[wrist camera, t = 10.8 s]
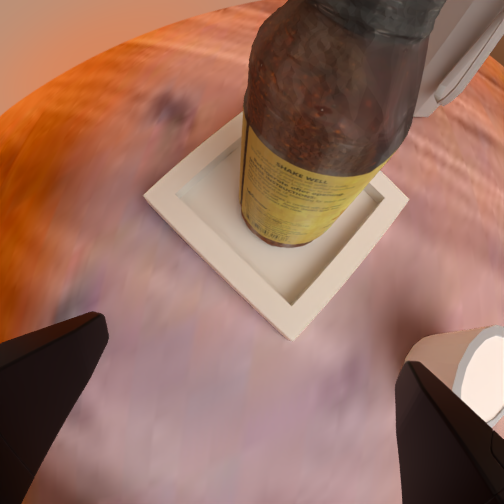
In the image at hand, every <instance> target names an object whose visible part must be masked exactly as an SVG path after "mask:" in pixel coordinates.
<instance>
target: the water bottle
mask: <svg viewBox="0 0 504 504" xmlns="http://www.w3.org/2000/svg"><path fill="white" fill-rule="evenodd" d="M503 34H504V0H447V1H446V2H445V4H444V6H443V7H442V9H441V11H440V13H439V15H438V16H437V18H436V19H435V24H434V29H433V31H432V32H431V33H430V37H429V43H428V49H427V55H426V61H425V66H424V71H423V76H422V81H421V85H420V90H419V94H418V99H417V103H416V107H415V111H414V115H413V117H428V116H429V115H430V114H431V113H432V112H434V111H435V110H436V109H437V107H438V106H439V105H442V106H445V105H447V104H448V103H450V102H451V101H453V100H454V99H455V98H456V97H457V96H458V95H459V94H460V93H461V92H462V91H463V90H464V88H465V87H466V86H467V84H468V83H469V82H470V80H471V79H472V78H473V76H474V75H475V74H476V72H477V71H478V70H479V68H480V67H481V65H482V64H483V63H484V61H485V60H486V58H487V57H488V56H489V54H490V53H491V51H492V50H493V48H494V47H495V46H496V44H497V43H498V41H499V40H500V38H501V37H502V35H503Z"/></svg>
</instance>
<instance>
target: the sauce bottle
mask: <svg viewBox="0 0 504 504" xmlns="http://www.w3.org/2000/svg"><path fill="white" fill-rule="evenodd" d="M446 1H447V0H288V1H287V2H286V3H285V4H284V5H283V6H282V7H280V8H278V9H277V11H276V12H274V13H273V14H272V15H271V16H270V17H269V18H268V19H266V20H265V21H264V23H263V24H262V25H261V27H260V28H259V31H258V33H257V36H256V38H255V40H254V42H253V45H252V50H251V54H250V59H249V72H248V74H249V76H248V87H247V90H246V93H245V96H244V103H243V121H242V137H241V158H240V181H239V204H240V205H241V214H242V217H243V219H244V221H245V223H246V225H247V226H248V228H249V229H250V230H251V231H252V233H253V234H255V235H256V236H257V237H259V238H260V239H261V240H262V241H264V242H266V243H267V244H269V245H271V246H277V247H284V248H295V247H301V246H305V245H306V244H308V243H311V242H312V241H313V240H314V239H316V238H318V237H320V236H321V235H322V234H324V233H325V232H326V231H327V230H328V229H329V228H330V227H331V226H332V224H333V223H334V222H335V221H336V220H337V219H338V218H339V217H340V215H341V214H342V213H343V212H344V211H345V210H346V209H347V207H348V206H349V205H350V204H351V203H352V202H353V201H354V200H355V198H356V197H357V196H358V195H359V194H360V193H361V192H362V191H363V190H364V188H365V187H366V186H367V185H368V184H369V182H370V181H371V180H372V179H373V178H374V177H375V175H376V174H377V173H378V172H379V171H380V169H381V168H382V167H383V166H384V165H385V164H386V163H387V162H388V161H389V159H390V158H391V156H392V155H393V154H394V153H395V152H396V150H397V149H398V148H399V147H400V145H401V144H402V142H403V141H404V139H405V137H406V136H407V134H408V131H409V129H410V126H411V124H412V119H413V115H414V111H415V107H416V103H417V99H418V94H419V90H420V85H421V81H422V76H423V71H424V66H425V61H426V55H427V49H428V43H429V37H430V33H431V32H432V31H433V29H434V24H435V19H436V18H437V16H438V15H439V13H440V11H441V9H442V7H443V6H444V4H445V2H446Z"/></svg>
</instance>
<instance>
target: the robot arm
mask: <svg viewBox="0 0 504 504" xmlns="http://www.w3.org/2000/svg"><path fill="white" fill-rule="evenodd" d="M108 339H109V334H108V329H107V324H106V320H105V316H104V315H103V314H101V313H98V312H94V311H92V312H88V313H86V314H83V315H80V316H77V317H74V318H71V319H68V320H66V321H63V322H60V323H57V324H54V325H51V326H48V327H45V328H43V329H40V330H37V331H34V332H31V333H28V334H25V335H23V336H20V337H17V338H14V339H11V340H8V341H5V342H2V343H1V344H0V504H21V503H22V501H23V499H24V497H25V495H26V493H27V491H28V489H29V487H30V485H31V483H32V481H33V479H34V476H35V475H36V473H37V471H38V469H39V467H40V465H41V464H42V462H43V460H44V458H45V456H46V454H47V452H48V451H49V449H50V447H51V445H52V443H53V441H54V440H55V438H56V436H57V434H58V432H59V431H60V429H61V427H62V425H63V424H64V422H65V420H66V418H67V417H68V415H69V413H70V412H71V410H72V408H73V406H74V405H75V403H76V401H77V400H78V398H79V396H80V395H81V393H82V391H83V390H84V388H85V386H86V385H87V383H88V381H89V380H90V378H91V376H92V374H93V372H94V370H95V368H96V366H97V363H98V361H99V359H100V357H101V355H102V353H103V351H104V349H105V347H106V345H107V343H108ZM395 403H396V436H397V445H398V454H399V464H400V475H401V488H402V504H504V439H503V438H502V437H501V436H500V435H499V434H498V433H496V432H495V431H494V430H493V429H492V428H491V427H490V426H489V425H488V424H487V423H486V422H485V421H484V420H483V419H482V418H481V417H480V416H478V415H477V414H476V413H475V412H474V411H473V410H472V409H471V408H470V407H469V406H468V405H467V404H466V403H465V402H464V401H462V400H461V399H460V398H459V397H458V396H457V395H456V394H455V393H454V392H453V391H452V390H451V389H449V388H448V387H447V386H446V385H445V384H444V383H443V382H442V381H441V380H440V379H439V378H437V377H436V376H435V375H434V374H433V373H432V372H431V371H430V370H429V369H428V368H426V367H425V366H424V365H423V364H422V363H421V362H419V361H406V362H405V363H404V365H403V367H402V370H401V372H400V374H399V376H398V379H397V381H396V384H395Z"/></svg>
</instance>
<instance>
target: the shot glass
mask: <svg viewBox="0 0 504 504" xmlns="http://www.w3.org/2000/svg"><path fill="white" fill-rule="evenodd" d="M406 361H419V362H421V363H422V364H423V365H424V366H425V367H426V368H428V369H429V370H430V371H431V372H432V373H433V374H434V375H435V376H436V377H437V378H439V379H440V380H441V381H442V382H443V383H444V384H445V385H446V386H447V387H448V388H449V389H451V390H452V391H453V392H454V393H455V394H456V395H457V396H458V397H459V398H460V399H461V400H462V401H464V402H465V403H466V404H467V405H468V406H469V407H470V408H471V409H472V410H473V411H474V412H475V413H476V414H477V415H478V416H480V417H481V418H482V419H483V420H484V421H485V422H486V423H487V424H488V425H489V426H490V427H491V428H492V427H493V426H495V424H496V423H497V422H498V421H499V420H500V419H501V418H502V416H503V415H504V327H502V326H498V325H492V326H486V327H481V328H475V329H469V330H462V331H455V332H449V333H441V334H434V335H430V336H427V337H423V338H422V339H421V340H420V341H418V342H417V343H416V344H415V345H413V347H412V348H411V350H410V352H409V353H408V355H407V356H406V358H405V361H404V363H405V362H406Z"/></svg>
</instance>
